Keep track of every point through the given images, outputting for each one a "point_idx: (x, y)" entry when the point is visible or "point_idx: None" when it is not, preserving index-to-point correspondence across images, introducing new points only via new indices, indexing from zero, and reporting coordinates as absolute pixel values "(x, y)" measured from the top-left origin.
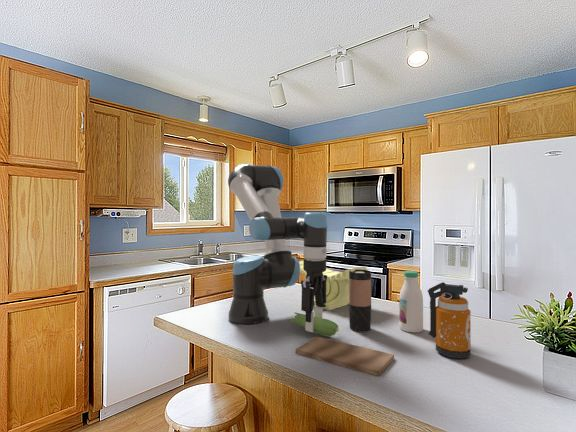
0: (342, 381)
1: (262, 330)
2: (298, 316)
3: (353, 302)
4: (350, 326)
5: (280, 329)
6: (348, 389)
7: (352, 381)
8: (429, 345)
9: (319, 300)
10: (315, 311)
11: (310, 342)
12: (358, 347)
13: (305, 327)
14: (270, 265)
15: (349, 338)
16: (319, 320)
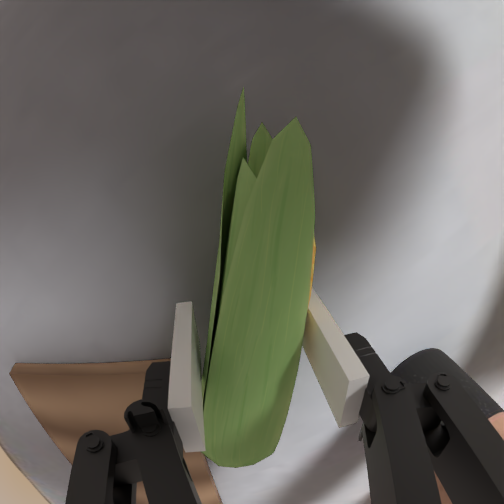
0: (48, 482)
1: (82, 13)
2: (242, 214)
3: (438, 479)
4: (400, 376)
5: (166, 76)
6: (43, 489)
7: (66, 491)
8: (347, 499)
9: (371, 462)
10: (331, 360)
11: (93, 388)
12: (202, 485)
13: (175, 315)
14: None
15: (292, 421)
16: (219, 425)
